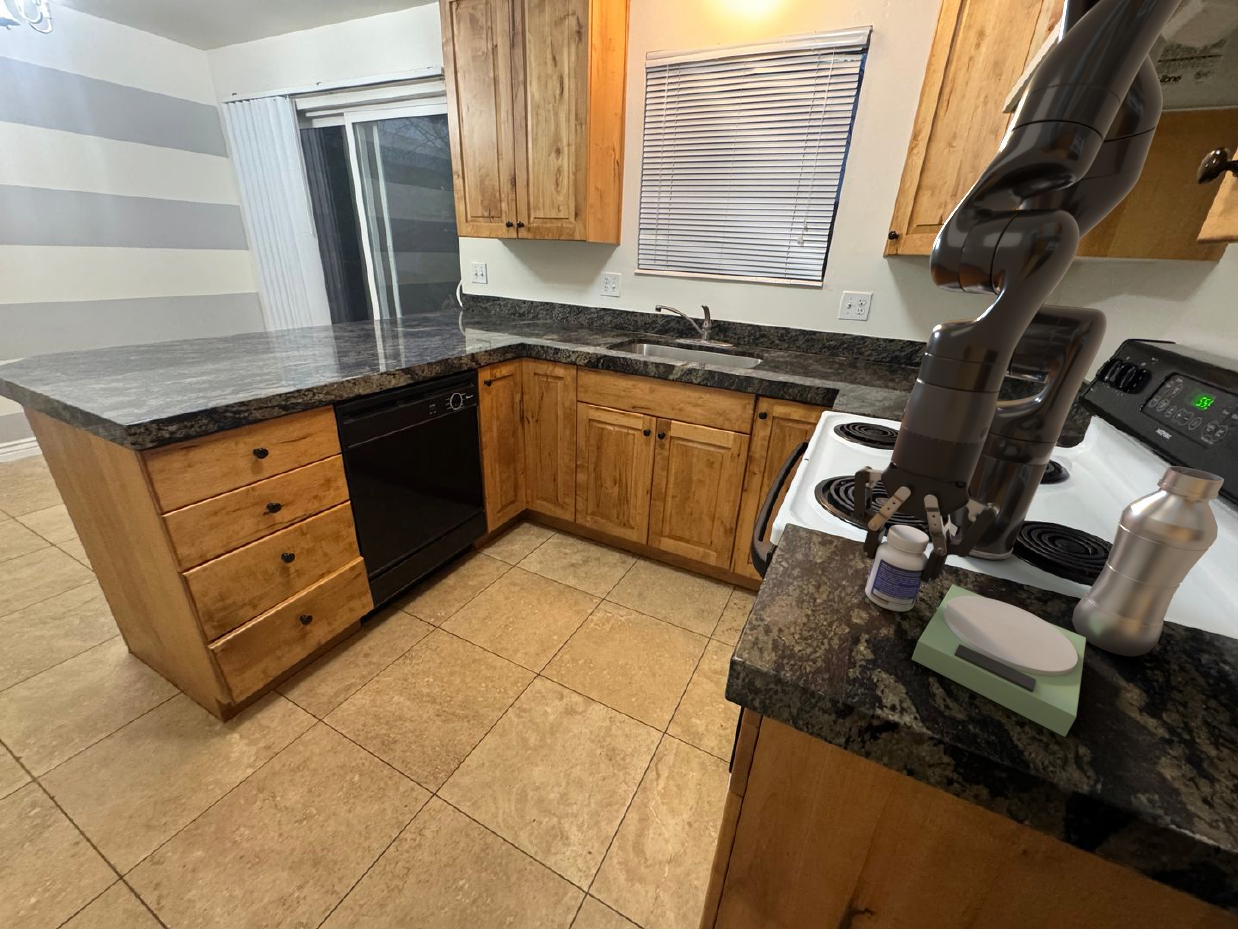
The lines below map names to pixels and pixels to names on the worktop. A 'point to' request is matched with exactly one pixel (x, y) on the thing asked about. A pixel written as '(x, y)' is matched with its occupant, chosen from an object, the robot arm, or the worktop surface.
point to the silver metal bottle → (1149, 562)
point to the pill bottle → (898, 569)
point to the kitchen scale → (1006, 657)
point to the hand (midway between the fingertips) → (898, 566)
